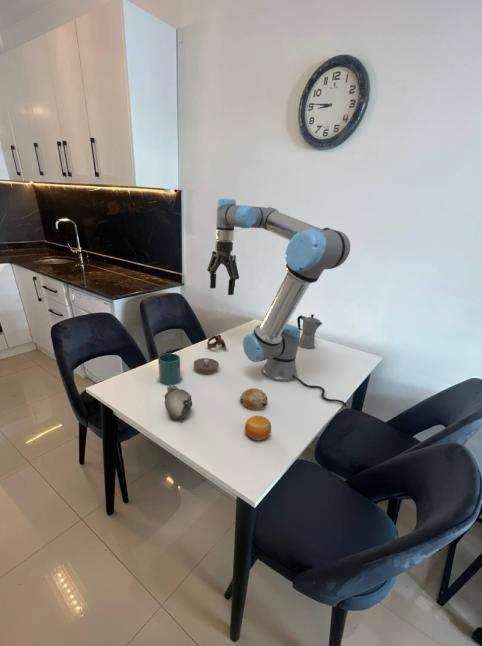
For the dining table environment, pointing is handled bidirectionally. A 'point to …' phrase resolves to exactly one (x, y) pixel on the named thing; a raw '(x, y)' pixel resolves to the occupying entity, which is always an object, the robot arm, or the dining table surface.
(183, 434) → the dining table surface
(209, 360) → the lid
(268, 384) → the dining table surface
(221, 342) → the brown strappy sandal
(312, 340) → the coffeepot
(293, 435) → the dining table surface
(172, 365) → the canister
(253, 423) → the fruit
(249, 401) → the brown oval lump
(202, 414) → the dining table surface
